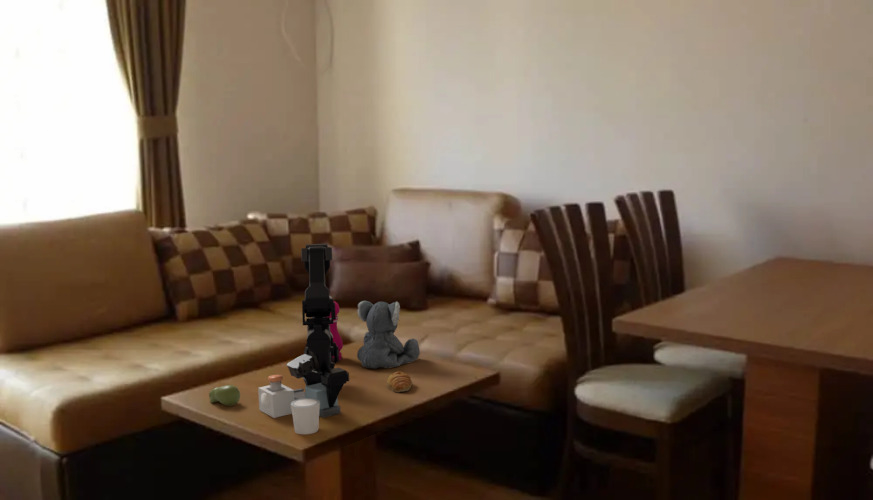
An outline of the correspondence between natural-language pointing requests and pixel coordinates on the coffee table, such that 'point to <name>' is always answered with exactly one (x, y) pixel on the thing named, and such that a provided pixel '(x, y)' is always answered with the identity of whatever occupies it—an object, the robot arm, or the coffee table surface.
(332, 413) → the rail
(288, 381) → the coffee table surface
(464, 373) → the coffee table surface
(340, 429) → the coffee table surface
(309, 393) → the block
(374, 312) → the koala plush
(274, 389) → the button
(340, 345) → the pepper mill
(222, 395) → the green eggplant
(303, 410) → the shot glass
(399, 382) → the pastry
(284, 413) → the cabinet
